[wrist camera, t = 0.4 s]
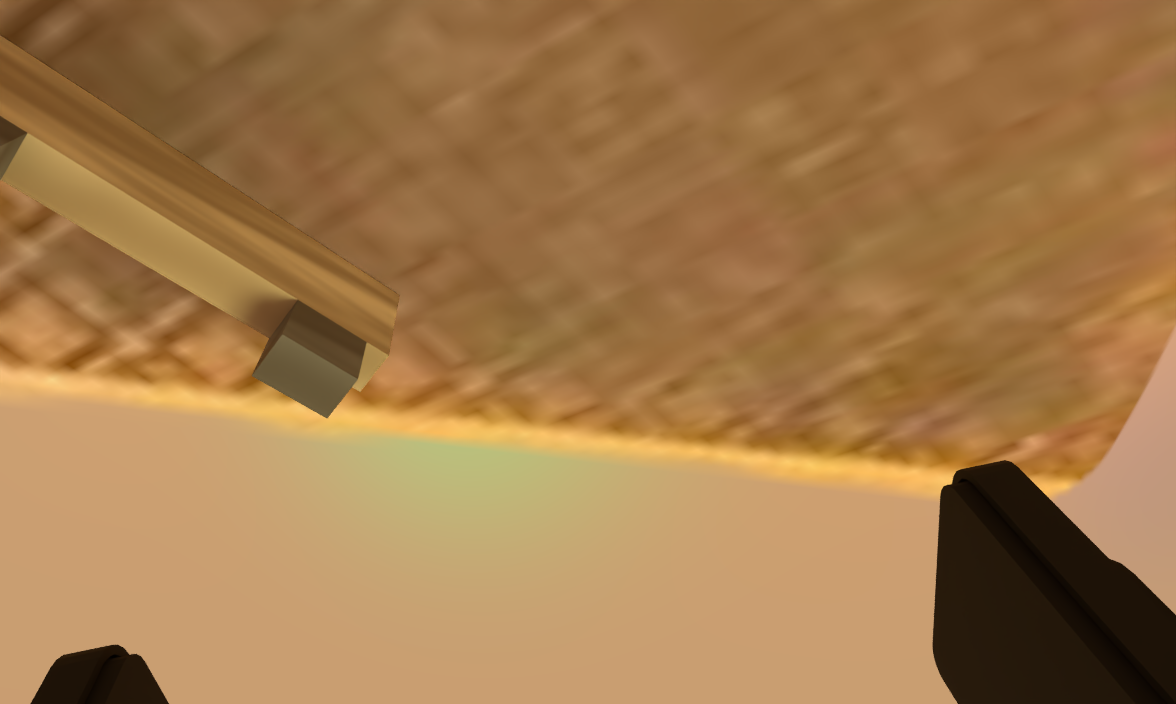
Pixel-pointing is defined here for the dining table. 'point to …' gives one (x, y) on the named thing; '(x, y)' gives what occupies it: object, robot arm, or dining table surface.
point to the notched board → (194, 233)
